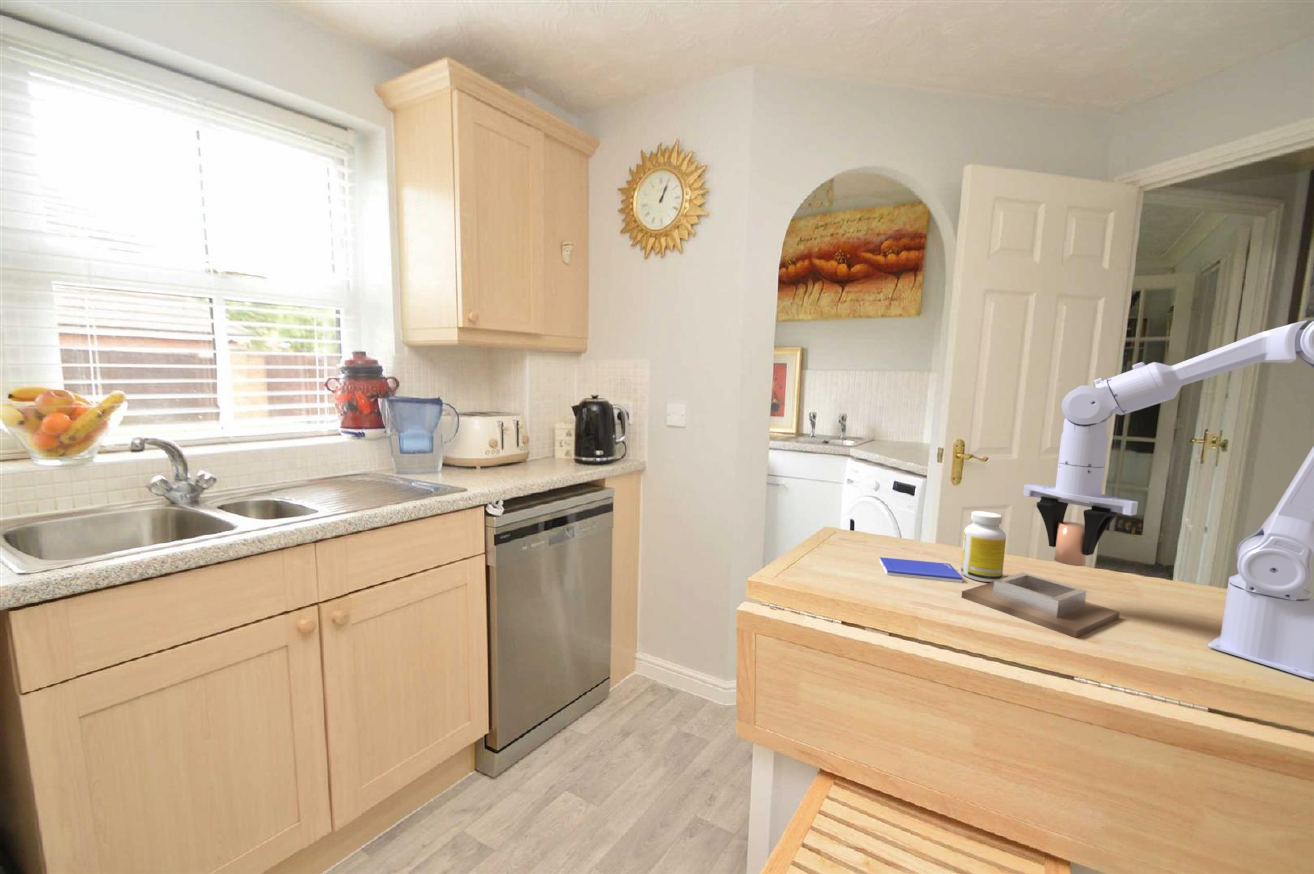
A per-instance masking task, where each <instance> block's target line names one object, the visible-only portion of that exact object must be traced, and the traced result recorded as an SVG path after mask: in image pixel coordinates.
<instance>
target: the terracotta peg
mask: <svg viewBox="0 0 1314 874" xmlns="http://www.w3.org/2000/svg"><path fill="white" fill-rule="evenodd" d="M1084 534H1085V523H1080V522H1079V523H1078V522H1073V521H1064V520H1063V521H1062V522H1058V529H1057V537H1056V546H1055V547H1054V555H1053V560H1054V561H1055V562H1058V563H1060V564H1062V565H1063V564H1064V565H1067V566H1073V567H1074V566H1075V567H1085V566H1086V563H1087V556H1088V555H1083V554H1082V547H1083V540H1084Z"/></svg>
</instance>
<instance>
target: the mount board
mask: <svg viewBox="0 0 1314 874" xmlns="http://www.w3.org/2000/svg"><path fill="white" fill-rule="evenodd" d="M993 588H994V582H987V583H986V584H982V585H978V586H975V587H972V588H968V589H965V590H962V591H961V598H963V599H966V600H968V601H972V602H973V603H977V604H980V605H983V606H985V607H987V608H991V609H994V610H997V611H999V612H1002V613H1005V614H1008V615H1010V616H1014V617H1016V618H1018V619H1022V620H1025V621H1027V622H1030V623H1033V624H1036V625H1038V626H1042V627H1045V628H1048V629H1050V630H1052V631H1055V632H1056V631H1057V632H1059V633H1061V634H1064V635H1066V636H1070V637H1073V638H1075V639H1076V638H1078V637H1081V636H1083V635H1085V634H1087V633H1090V632H1091V631H1094V630H1096V629H1098V628H1100V627H1102V626H1104V625H1107V624H1109V623H1111V622H1114V621H1117V620H1118V619H1119V618H1120V611H1117V610H1114V609H1111V608H1108V607H1105V606H1102V605H1099V604H1098V605H1097V604H1095V603H1091V602H1088V601H1085V607H1082V608H1080V609H1077V610H1075V611H1072V612H1070V613H1067V614H1065V615H1062V616H1060V617H1057V618H1056V617H1053V616H1050V615H1047V614H1044V613H1041V612H1038V611H1035V610H1032V609H1030V608H1027V607H1024V606H1021V605H1018V604H1015V603H1012V602H1009V601H1006V600H1003V599H1000V598H997V597H994V596H993Z"/></svg>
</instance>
